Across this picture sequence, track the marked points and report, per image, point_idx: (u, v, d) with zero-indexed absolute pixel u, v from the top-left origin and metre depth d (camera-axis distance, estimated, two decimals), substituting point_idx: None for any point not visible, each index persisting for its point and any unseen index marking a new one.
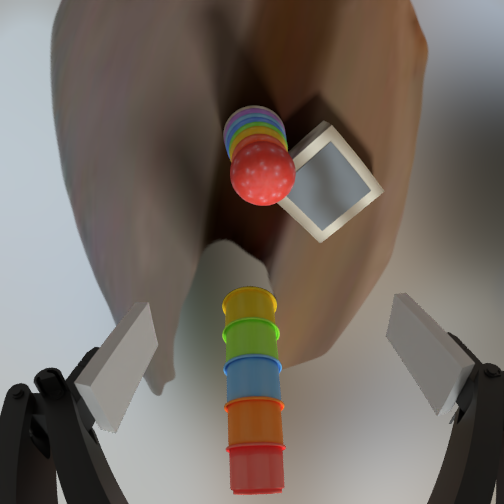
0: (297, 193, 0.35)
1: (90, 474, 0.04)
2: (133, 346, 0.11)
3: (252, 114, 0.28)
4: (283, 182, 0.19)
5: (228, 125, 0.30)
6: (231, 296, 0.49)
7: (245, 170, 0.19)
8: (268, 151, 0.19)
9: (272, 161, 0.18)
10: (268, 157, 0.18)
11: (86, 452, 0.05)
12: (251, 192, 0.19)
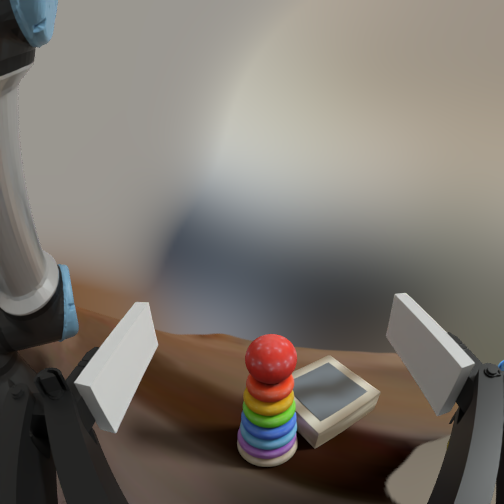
0: (328, 408, 0.32)
1: (90, 474, 0.04)
2: (133, 346, 0.11)
3: (241, 421, 0.29)
4: (274, 334, 0.26)
5: (246, 447, 0.27)
6: None
7: (258, 349, 0.24)
8: (251, 343, 0.26)
9: (257, 338, 0.26)
10: (254, 340, 0.26)
11: (86, 452, 0.05)
12: (276, 347, 0.24)
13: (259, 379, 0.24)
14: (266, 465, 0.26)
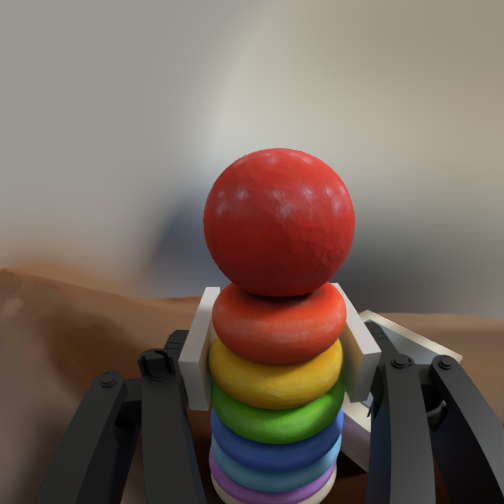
0: None
1: (181, 462, 0.05)
2: None
3: None
4: None
5: (227, 485, 0.10)
6: None
7: (239, 163, 0.08)
8: None
9: None
10: None
11: (183, 440, 0.06)
12: (295, 154, 0.08)
13: (244, 270, 0.08)
14: None
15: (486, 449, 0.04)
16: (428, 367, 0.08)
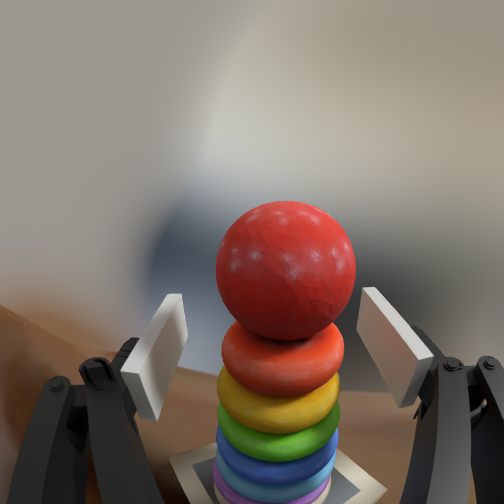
0: None
1: (130, 467, 0.05)
2: (170, 335, 0.12)
3: None
4: None
5: (230, 496, 0.11)
6: None
7: (252, 220, 0.09)
8: None
9: None
10: None
11: (128, 445, 0.05)
12: (304, 212, 0.08)
13: (255, 320, 0.08)
14: None
15: None
16: (474, 367, 0.07)
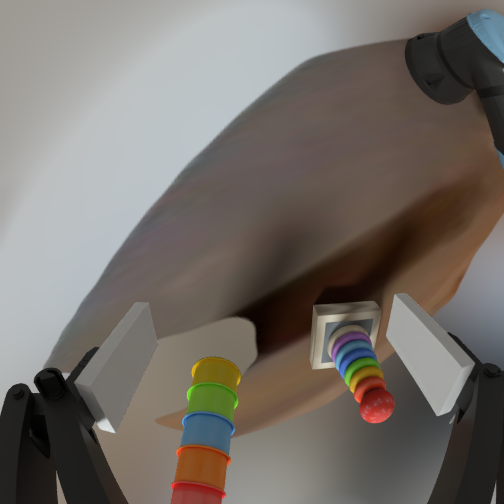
0: (331, 333, 0.46)
1: (90, 474, 0.04)
2: (133, 346, 0.11)
3: (369, 345, 0.40)
4: None
5: (350, 337, 0.42)
6: (213, 360, 0.51)
7: (382, 409, 0.28)
8: (393, 404, 0.29)
9: (392, 410, 0.29)
10: (392, 407, 0.29)
11: (86, 452, 0.05)
12: (374, 418, 0.29)
13: (370, 393, 0.31)
14: (332, 337, 0.45)
15: None
16: None
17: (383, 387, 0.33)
